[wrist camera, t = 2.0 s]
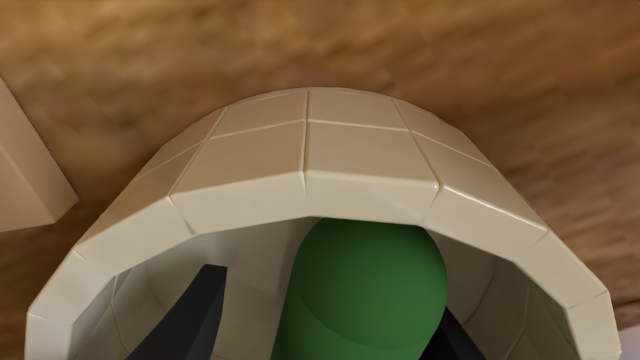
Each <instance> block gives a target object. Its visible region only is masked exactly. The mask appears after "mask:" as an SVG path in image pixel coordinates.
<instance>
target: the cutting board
mask: <svg viewBox="0 0 640 360" xmlns="http://www.w3.org/2000/svg"><path fill="white" fill-rule="evenodd" d="M78 201H79V198H78V196H77V194H76V193H75V191H74V190H73V188H72V187H71V185H70V184H69V182H68V180H67V179H66V177H65V176H64V174H63V173H62V171H61V169H60V168H59V166H58V165H57V163H56V162H55V160H54V159H53V157H52V155H51V154H50V152H49V151H48V149H47V148H46V146H45V145H44V143H43V141H42V140H41V138H40V137H39V135H38V134H37V132H36V131H35V129H34V127H33V126H32V124H31V123H30V121H29V120H28V118H27V116H26V115H25V113H24V112H23V110H22V109H21V107H20V106H19V104H18V102H17V101H16V99H15V98H14V96H13V95H12V93H11V92H10V90H9V88H8V87H7V85H6V84H5V82H4V81H3V79H2V77H1V76H0V233H1V232H7V231H13V230H19V229H25V228H31V227H37V226H43V225H49V224H54V223H56V222H57V221H58V220H59V219H60V218H61V217H62V216H63V215H64V214H65V213H67V212H68V211H69V210H70V209H71V208H72V207H73V206H74V205H75V204H76V203H77V202H78Z"/></svg>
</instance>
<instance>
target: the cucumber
mask: <svg viewBox="0 0 640 360" xmlns="http://www.w3.org/2000/svg"><path fill="white" fill-rule="evenodd" d="M447 294H448V279H447V273H446V267H445V264H444V260H443V258H442V255H441V253H440V251H439V249H438V247H437V245H436V243H435V241H434V240H433V239H432V237H431V236H430V235H429V234H428V232H427V231H426V230H425V229H424V228H423V227H420V226H417V225H407V224H395V223H384V222H372V221H361V220H349V219H337V218H326V217H324V218H322V219H321V220H320V221H319V222H318V223H317V224H315V225H314V226H313V227H312V228H311V229H310V231H309V232H308V233H307V235H306V236H305V238H304V239H303V241H302V243H301V244H300V246H299V249H298V251H297V254H296V257H295V259H294V263H293V267H292V271H291V276H290V280H289V284H288V288H287V292H286V296H285V300H284V304H283V308H282V312H281V317H280V321H279V325H278V329H277V333H276V337H275V341H274V345H273V349H272V353H271V357H270V360H418V359H419V358H420V356H421V354H422V353H423V351H424V349H425V348H426V346H427V344H428V343H429V341H430V339H431V337H432V336H433V334H434V332H435V331H436V329H437V327H438V325H439V323H440V321H441V318H442V316H443V313H444V310H445V307H446V302H447Z"/></svg>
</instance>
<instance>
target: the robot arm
mask: <svg viewBox="0 0 640 360" xmlns="http://www.w3.org/2000/svg"><path fill="white" fill-rule="evenodd" d="M227 269H228V267H226V266H219V265H212V264H205V265H203V266H202V267H201V269H200V270H199V272H198V273H197V275H196V276H195V278H194V279H193V281H192V282H191V283H190V285H189V286H188V288H187V289H186V290H185V291H184V293H183V294H182V295H181V297H180V298H179V299H178V300H177V302H176V303H175V304H174V305H173V307H172V308H171V309H170V310H169V311H168V312H167V314H166V315H165V316H164V317H163V318H162V320H161V321H160V322H159V323H158V324H157V325H156V327H155V328H154V329H153V330H152V331H151V332H150V333H149V334H148V335H147V336H146V337H145V338H144V340H143V341H142V342H141V343H140V344H139V345H138V346H137V347H136V348H135V349H134V350H133V351H132V352H131V353H130V355H129V356H128V357H127V358H126V359H125V360H210V357H211V354H212V351H213V348H214V344H215V340H216V336H217V333H218V329H219V324H220V320H221V316H222V311H223V303H224V294H225V286H226V277H227ZM418 360H487V359H486V358H485V356H484V355H483V354H482V352H481V351H480V350H479V349H478V347H477V346H476V345H475V343H474V342H473V341H472V339H471V338H470V337H469V335H468V334H467V333H466V331H465V330H464V329H463V327H462V326H461V325H460V323H459V322H458V321H457V319H456V318H455V317H454V315H453V314H452V313H451V311H450V310H449V309H448V307H447V306H446V307H445V310H444V313H443V316H442V318H441V321H440V323H439V325H438V327H437V329H436V331H435V332H434V334H433V336H432V337H431V339H430V341H429V343H428V344H427V346H426V348H425V349H424V351H423V353H422V354H421V356H420V358H419V359H418Z"/></svg>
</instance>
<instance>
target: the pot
mask: <svg viewBox="0 0 640 360" xmlns="http://www.w3.org/2000/svg"><path fill="white" fill-rule="evenodd" d="M324 217H326V218H337V219H349V220H361V221H372V222H384V223H395V224H407V225H417V226H420V227H423V228H424V229H425V230H426V231H427V232H428V234H429V235H430V236H431V237H432V239H433V240H434V241H435V243H436V245H437V247H438V249H439V251H440V253H441V255H442V258H443V260H444V264H445V267H446V273H447V279H448V294H447V302H446V306H447V307H448V309H449V310H450V311H451V313H452V314H453V315H454V317H455V318H456V319H457V321H458V322H459V323H460V325H461V326H462V327H463V329H464V330H465V331H466V333H467V334H468V335H469V337H470V338H471V339H472V341H473V342H474V343H475V345H476V346H477V347H478V349H479V350H480V351H481V352H482V354H483V355H484V356H485V358H486V359H487V360H619V359H620V356H621V354H622V353H621V345H620V341H619V336H618V331H617V326H616V322H615V317H614V313H613V308H612V303H611V299H610V294H609V290H608V289H607V288H606V287H605V284H604V283H603V282H602V281H601V280H600V279H599V278H598V277H597V276H596V275H595V274H594V272H593V271H592V270H591V269H590V268H589V267H588V266H587V265H586V264H585V263H584V262H583V260H582V259H581V258H580V257H579V256H578V255H577V254H576V253H575V252H574V251H573V250H572V249H571V247H570V246H569V245H568V244H567V243H566V242H565V241H564V240H563V239H562V238H561V237H560V235H559V234H558V233H557V232H556V231H555V230H554V229H553V228H552V227H551V226H550V225H549V224H548V222H547V221H546V220H545V219H544V218H543V217H542V216H541V215H540V214H539V213H538V212H537V210H536V209H535V208H534V207H533V206H532V205H531V204H530V203H529V202H528V201H527V200H526V198H525V197H524V196H523V195H522V194H521V193H520V192H519V191H518V190H517V189H516V188H515V187H514V185H513V184H512V183H511V182H510V181H509V180H508V179H507V178H506V177H505V176H504V175H503V174H502V173H501V171H500V170H499V169H498V168H497V167H496V166H495V165H494V164H493V163H492V162H491V161H490V160H489V159H488V158H487V157H486V156H485V155H484V154H483V153H482V151H481V150H480V149H479V148H478V147H477V146H476V145H475V144H474V143H473V142H472V141H471V140H470V139H469V138H468V137H467V136H466V135H465V134H464V133H463V132H461V131H460V130H459V129H456V128H455V127H453V126H452V125H450V124H448V123H447V122H445V121H444V120H442V119H441V118H439V117H438V116H436V115H434V114H433V113H431V112H428V111H426V110H424V109H422V108H419V107H417V106H415V105H413V104H410V103H408V102H406V101H403V100H399V99H396V98H393V97H389V96H386V95H382V94H379V93H375V92H369V91H362V90H356V89H349V88H342V87H304V88H295V89H286V90H278V91H273V92H269V93H265V94H261V95H257V96H253V97H249V98H245V99H242V100H240V101H237V102H235V103H232V104H230V105H227V106H225V107H222V108H220V109H217V110H215V111H214V112H212V113H210V114H208V115H207V116H205V117H203V118H202V119H200V120H198V121H196V122H195V123H193V124H191V125H190V126H189V127H187V128H186V129H185V130H184V131H182V132H181V133H180V134H179V135H177V136H176V137H175V138H173V139H172V140H170V141H168V142H167V143H165V144H164V145H163V146H162V147H161V148H160V149H159V150H158V151H157V153H156V154H155V155H154V156H153V157H152V158H151V159H150V160H149V162H148V163H147V164H146V165H145V166H144V167H143V168H142V169H141V171H140V172H139V173H138V174H137V175H136V176H135V177H134V178H133V179H132V181H131V182H130V183H129V184H128V185H127V187H126V188H125V189H124V190H123V191H122V192H121V193H120V194H119V195H118V196H117V198H116V199H115V200H114V201H113V202H112V203H111V204H110V205H109V207H108V208H107V209H106V210H105V211H104V212H103V213H102V214H101V216H100V217H99V218H98V219H97V220H96V221H95V222H94V223H93V225H92V226H91V227H90V228H89V229H88V230H87V231H86V232H85V234H84V235H83V236H82V237H81V238H80V239H79V240H78V241H77V242H76V244H75V245H74V246H73V247H72V248H71V249H70V251H69V252H68V254H67V255H66V256H65V258H64V259H63V260H62V262H61V263H60V264H59V266H58V267H57V269H56V270H55V271H54V273H53V274H52V275H51V277H50V278H49V280H48V281H47V282H46V284H45V285H44V286H43V288H42V289H41V291H40V292H39V293H38V295H37V296H36V297H35V299H34V300H33V302H32V303H31V304H30V306H29V308H28V311H27V314H26V332H25V351H24V360H125V359H126V358H127V357H128V356H129V355H130V353H131V352H132V351H133V350H134V349H135V348H136V347H137V346H138V345H139V344H140V343H141V342H142V341H143V340H144V338H145V337H146V336H147V335H148V334H149V333H150V332H151V331H152V330H153V329H154V328H155V327H156V325H157V324H158V323H159V322H160V321H161V320H162V318H163V317H164V316H165V315H166V314H167V312H168V311H169V310H170V309H171V308H172V307H173V305H174V304H175V303H176V302H177V300H178V299H179V298H180V297H181V295H182V294H183V293H184V291H185V290H186V289H187V288H188V286H189V285H190V283H191V282H192V281H193V279H194V278H195V276H196V275H197V273H198V272H199V270H200V269H201V267H202V266H203V265H205V264H212V265H219V266H226V267H228V269H227V277H226V286H225V294H224V303H223V311H222V316H221V320H220V324H219V329H218V333H217V336H216V340H215V344H214V348H213V351H212V354H211V357H210V360H270V357H271V353H272V349H273V345H274V341H275V337H276V333H277V329H278V325H279V321H280V317H281V312H282V308H283V304H284V300H285V296H286V292H287V288H288V284H289V280H290V276H291V271H292V267H293V263H294V259H295V257H296V254H297V251H298V249H299V246H300V244H301V243H302V241H303V239H304V238H305V236H306V235H307V233H308V232H309V231H310V229H311V228H312V227H313V226H314V225H315V224H317V223H318V222H319V221H320V220H321V219H322V218H324Z"/></svg>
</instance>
